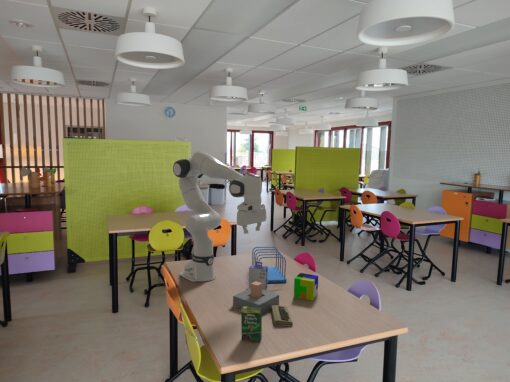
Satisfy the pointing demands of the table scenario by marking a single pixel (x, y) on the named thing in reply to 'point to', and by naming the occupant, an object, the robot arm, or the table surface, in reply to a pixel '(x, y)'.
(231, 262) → the table surface
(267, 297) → the holder
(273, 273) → the file sorter
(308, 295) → the puzzle toy
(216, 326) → the table surface
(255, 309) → the coffee box
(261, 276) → the ink cartridge box
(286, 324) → the computer
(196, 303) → the table surface
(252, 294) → the block
